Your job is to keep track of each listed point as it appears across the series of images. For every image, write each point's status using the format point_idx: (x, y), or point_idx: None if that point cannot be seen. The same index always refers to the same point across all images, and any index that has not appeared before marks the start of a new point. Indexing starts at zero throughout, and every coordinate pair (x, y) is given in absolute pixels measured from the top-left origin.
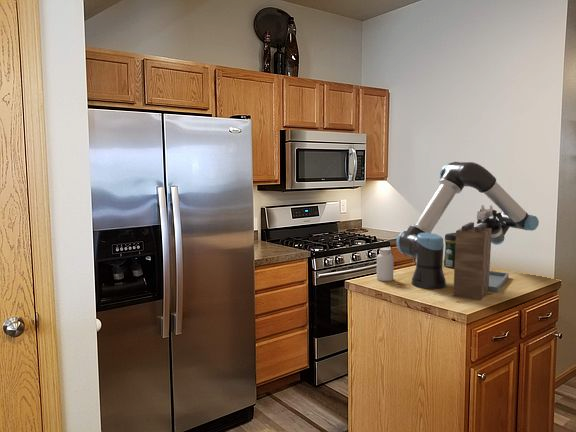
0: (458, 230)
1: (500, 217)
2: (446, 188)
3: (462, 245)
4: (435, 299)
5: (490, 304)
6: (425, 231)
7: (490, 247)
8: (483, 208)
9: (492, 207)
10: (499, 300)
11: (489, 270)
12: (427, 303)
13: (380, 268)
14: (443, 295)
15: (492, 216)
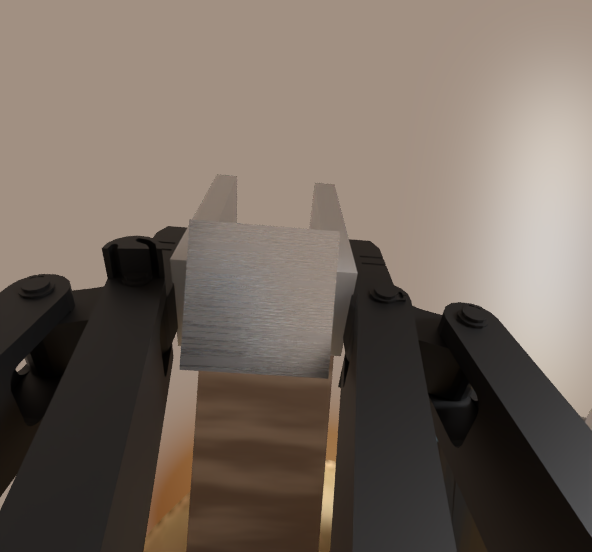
0: None
1: (18, 372)
2: None
3: None
4: (328, 488)
5: (184, 505)
6: (589, 416)
7: (196, 418)
8: (312, 223)
9: (207, 194)
10: (148, 548)
11: (187, 542)
12: (329, 463)
13: None
14: (327, 522)
15: None
